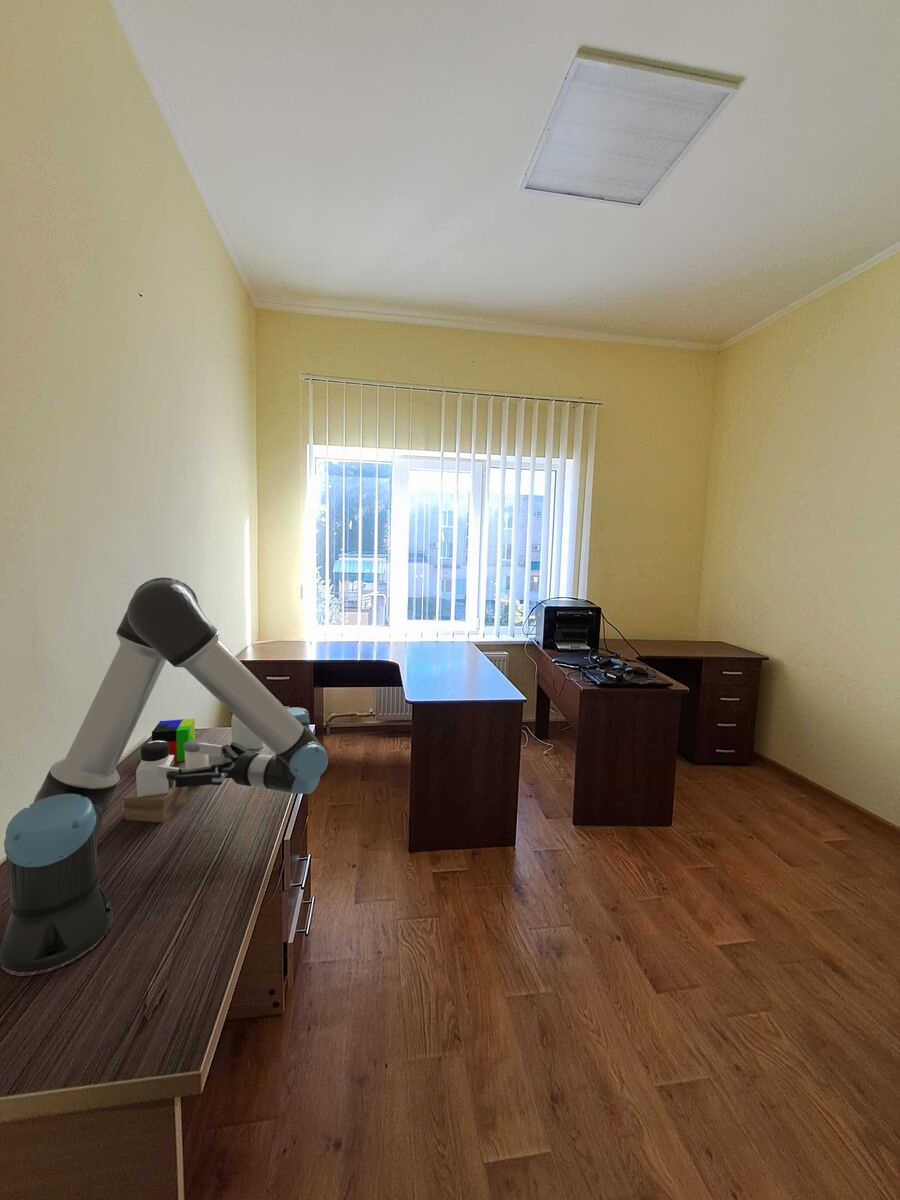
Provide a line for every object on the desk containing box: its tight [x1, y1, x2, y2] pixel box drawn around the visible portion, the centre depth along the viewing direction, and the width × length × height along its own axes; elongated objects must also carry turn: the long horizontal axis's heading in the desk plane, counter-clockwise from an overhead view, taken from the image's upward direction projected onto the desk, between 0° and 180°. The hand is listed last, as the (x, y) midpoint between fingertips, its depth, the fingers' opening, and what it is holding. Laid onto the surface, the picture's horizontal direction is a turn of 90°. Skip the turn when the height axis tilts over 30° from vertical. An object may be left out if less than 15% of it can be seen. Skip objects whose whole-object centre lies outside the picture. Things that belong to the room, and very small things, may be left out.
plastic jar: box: [184, 738, 210, 771], centre depth 140 cm, size 6×6×11 cm
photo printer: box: [230, 713, 264, 750], centre depth 163 cm, size 10×4×12 cm, turn 85°
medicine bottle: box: [135, 740, 176, 797], centre depth 123 cm, size 7×7×12 cm
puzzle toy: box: [151, 718, 196, 762], centre depth 156 cm, size 10×10×10 cm
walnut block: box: [123, 782, 190, 823], centre depth 125 cm, size 10×10×6 cm
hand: (180, 759), depth 121 cm, fingers open, 13 cm apart
